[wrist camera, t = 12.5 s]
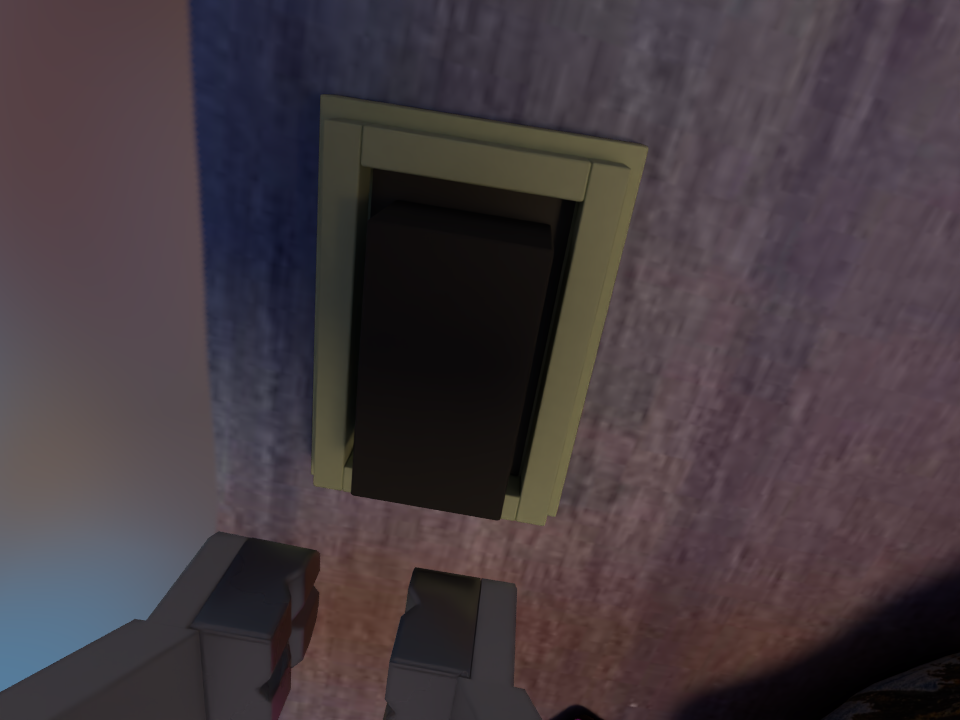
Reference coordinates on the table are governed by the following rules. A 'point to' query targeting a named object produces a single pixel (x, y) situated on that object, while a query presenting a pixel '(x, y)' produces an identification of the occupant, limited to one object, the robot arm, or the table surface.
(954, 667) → the seashell
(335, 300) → the pad
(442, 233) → the black pad
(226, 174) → the table surface
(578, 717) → the smartphone
